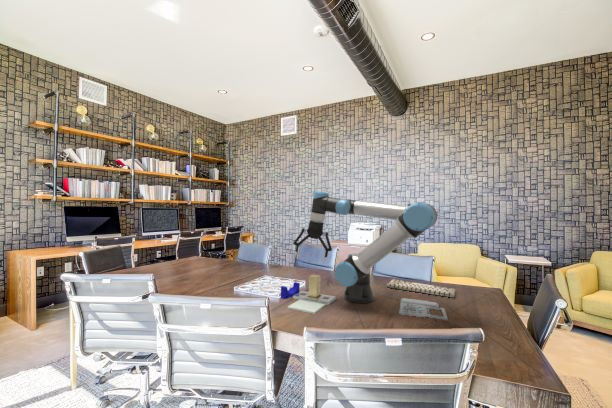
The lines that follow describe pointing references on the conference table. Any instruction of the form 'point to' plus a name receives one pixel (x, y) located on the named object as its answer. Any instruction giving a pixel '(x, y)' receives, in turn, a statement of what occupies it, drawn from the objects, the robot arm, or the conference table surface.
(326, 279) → the conference table surface
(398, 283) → the mechanical keyboard
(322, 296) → the grey plate with holes
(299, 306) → the sage pad
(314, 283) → the tan rectangular block
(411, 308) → the grey flat slab
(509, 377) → the conference table surface
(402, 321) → the conference table surface
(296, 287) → the cable clip
